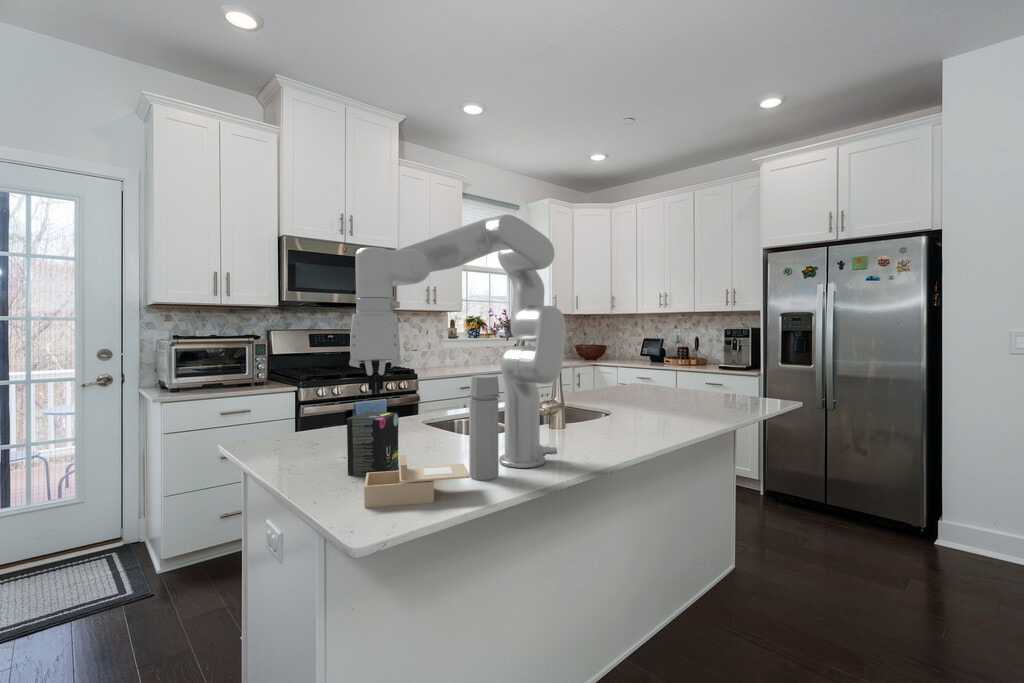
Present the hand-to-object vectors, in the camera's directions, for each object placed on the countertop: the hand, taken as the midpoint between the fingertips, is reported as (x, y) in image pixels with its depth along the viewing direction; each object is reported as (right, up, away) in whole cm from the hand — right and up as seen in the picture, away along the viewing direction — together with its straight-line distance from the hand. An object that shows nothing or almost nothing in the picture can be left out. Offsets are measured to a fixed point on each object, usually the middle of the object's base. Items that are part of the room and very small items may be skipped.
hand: (376, 393), depth 109 cm
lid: (+12, -18, +3) cm, 22 cm away
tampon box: (-6, -23, +22) cm, 32 cm away
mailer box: (+5, -23, +2) cm, 23 cm away
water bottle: (+23, -23, +17) cm, 36 cm away
